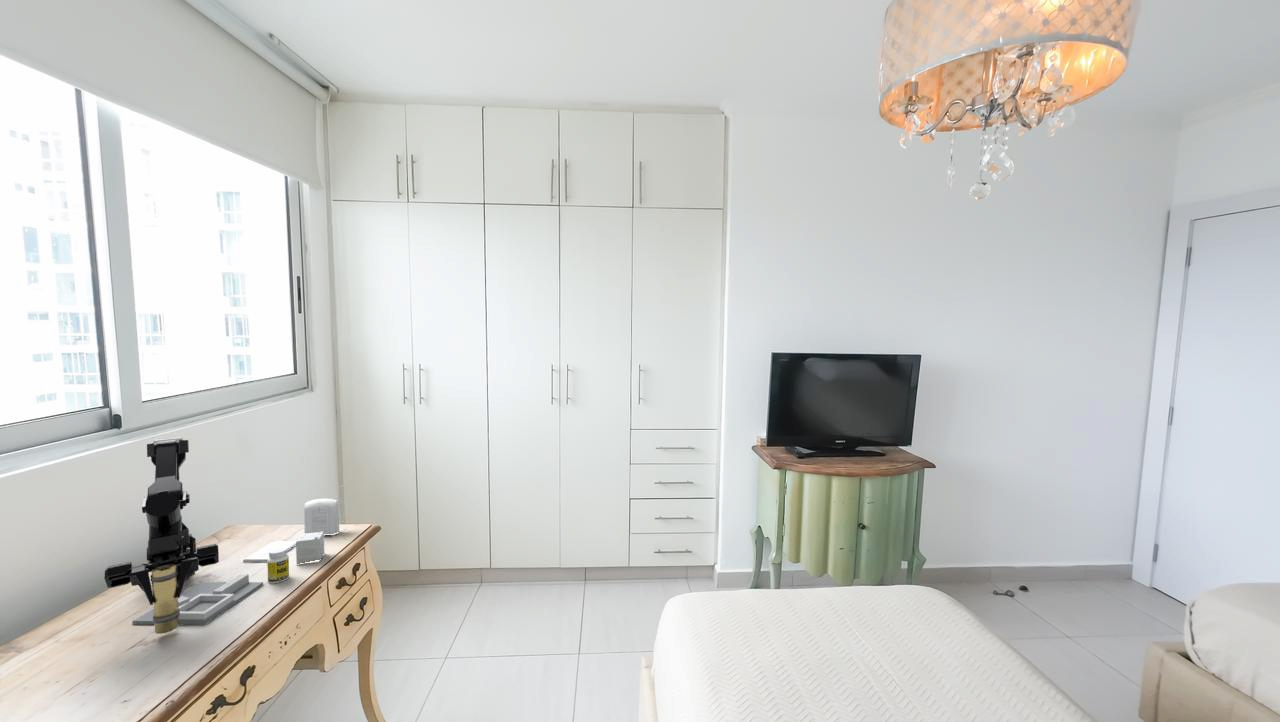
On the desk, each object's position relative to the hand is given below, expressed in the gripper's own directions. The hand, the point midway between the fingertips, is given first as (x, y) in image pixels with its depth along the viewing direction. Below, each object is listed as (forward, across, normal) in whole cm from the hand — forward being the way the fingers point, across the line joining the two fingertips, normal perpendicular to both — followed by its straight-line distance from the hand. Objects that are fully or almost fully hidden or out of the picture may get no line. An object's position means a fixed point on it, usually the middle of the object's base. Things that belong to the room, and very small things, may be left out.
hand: (165, 600), depth 110 cm
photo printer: (-24, +36, +37) cm, 57 cm away
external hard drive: (-19, +22, +33) cm, 44 cm away
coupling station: (-3, +6, +16) cm, 17 cm away
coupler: (+4, 0, +6) cm, 7 cm away
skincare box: (-10, +30, +23) cm, 40 cm away
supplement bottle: (-5, +22, +17) cm, 28 cm away
